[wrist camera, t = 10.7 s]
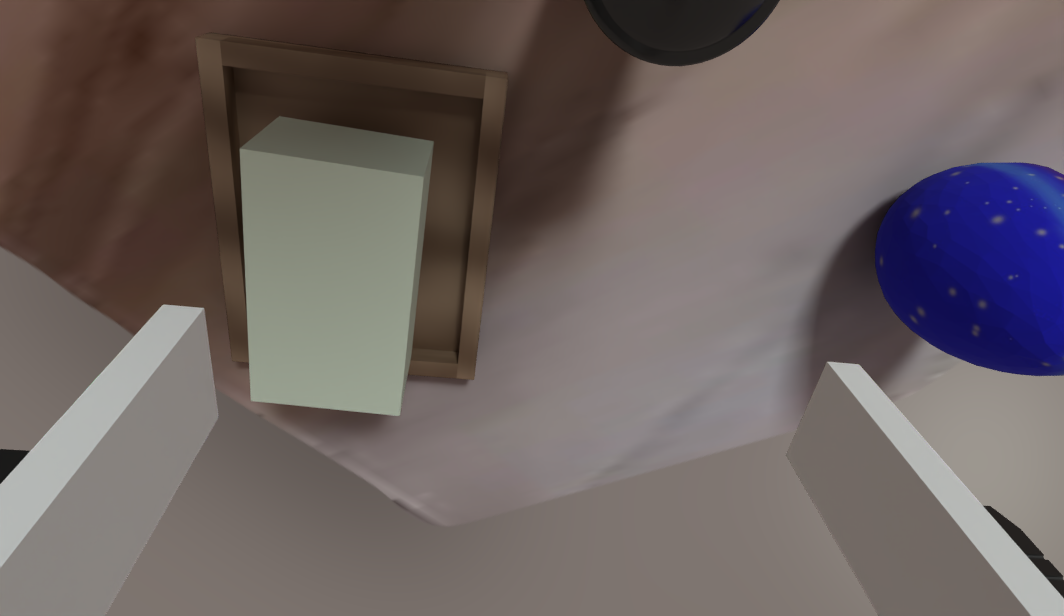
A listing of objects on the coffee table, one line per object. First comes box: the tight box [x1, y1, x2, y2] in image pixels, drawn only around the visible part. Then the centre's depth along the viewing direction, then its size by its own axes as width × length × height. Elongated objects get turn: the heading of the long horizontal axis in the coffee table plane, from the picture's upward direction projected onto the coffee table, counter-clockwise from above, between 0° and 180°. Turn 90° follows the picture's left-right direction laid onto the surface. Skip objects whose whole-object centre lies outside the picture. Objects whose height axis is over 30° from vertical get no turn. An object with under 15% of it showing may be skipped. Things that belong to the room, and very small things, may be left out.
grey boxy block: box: [240, 116, 434, 416], centre depth 34 cm, size 14×8×6 cm, turn 170°
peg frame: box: [195, 33, 508, 380], centre depth 38 cm, size 20×16×4 cm
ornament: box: [875, 163, 1064, 376], centre depth 36 cm, size 11×9×15 cm
